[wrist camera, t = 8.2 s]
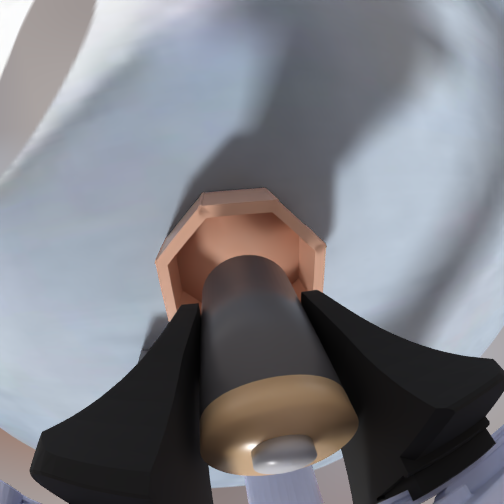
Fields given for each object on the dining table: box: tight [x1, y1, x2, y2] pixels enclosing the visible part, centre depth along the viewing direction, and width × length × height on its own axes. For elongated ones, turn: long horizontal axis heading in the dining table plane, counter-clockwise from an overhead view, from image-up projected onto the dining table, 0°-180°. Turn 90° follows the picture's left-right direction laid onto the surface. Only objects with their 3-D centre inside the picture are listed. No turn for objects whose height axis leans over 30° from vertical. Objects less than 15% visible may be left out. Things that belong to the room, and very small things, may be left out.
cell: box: [199, 255, 359, 476], centre depth 8 cm, size 4×4×7 cm
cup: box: [155, 187, 327, 322], centre depth 14 cm, size 8×8×3 cm
